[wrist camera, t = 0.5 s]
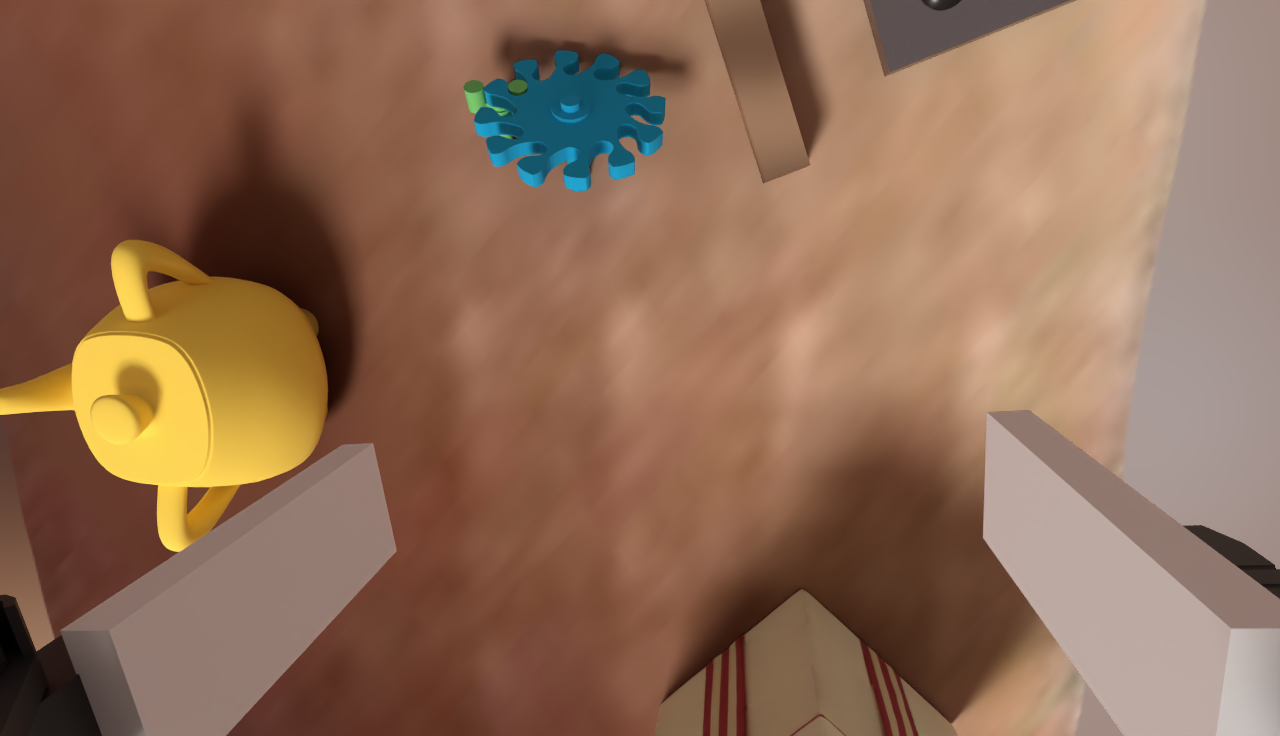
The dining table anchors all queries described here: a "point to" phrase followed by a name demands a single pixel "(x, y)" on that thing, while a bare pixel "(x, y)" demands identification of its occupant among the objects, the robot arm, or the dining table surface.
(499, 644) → the dining table surface
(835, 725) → the gift box
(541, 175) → the gear
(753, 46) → the beam
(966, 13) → the hole plate
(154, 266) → the teapot
